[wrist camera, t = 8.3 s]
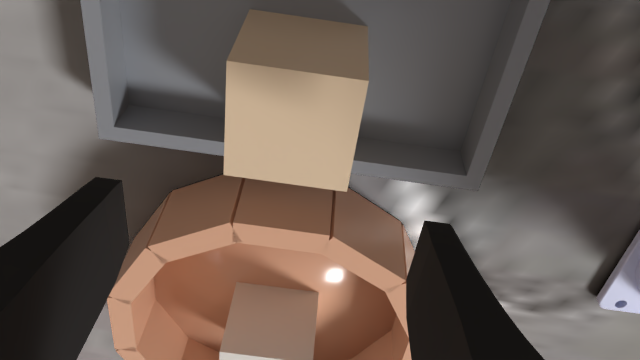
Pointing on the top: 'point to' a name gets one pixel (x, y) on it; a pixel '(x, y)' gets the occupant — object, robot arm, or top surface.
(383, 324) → the bowl
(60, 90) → the top surface
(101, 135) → the parts tray
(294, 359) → the pale cube
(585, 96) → the top surface
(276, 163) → the beige cardboard cube
